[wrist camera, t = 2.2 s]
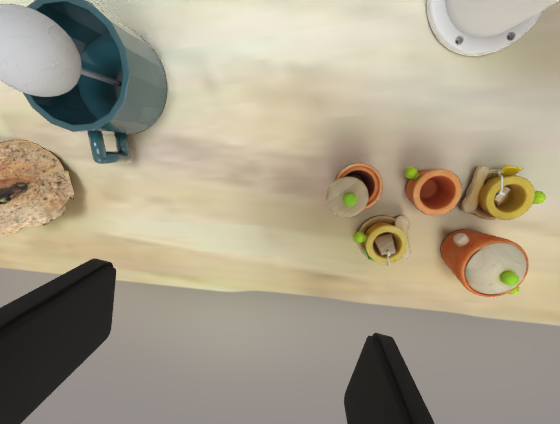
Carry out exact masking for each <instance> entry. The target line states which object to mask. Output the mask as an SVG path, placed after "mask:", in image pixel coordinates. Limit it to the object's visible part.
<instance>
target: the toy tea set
mask: <svg viewBox="0 0 560 424" xmlns="http://www.w3.org/2000/svg"><path fill="white" fill-rule="evenodd" d="M522 169H523V168H518V167H511V166H505V167H504V168H503V169H492V170H489V168H488V167H487V166H478V167H477V169H476V170H475V173H474V176H473V180H472V182H471V184H470V185H469V187H468V189H467V192H466V197H465V198H464V199H463V201H462V205H461V206H462V210H463V211H464V212H467V213H471V212H472V213H473V214H474V215H476V216H478V217H480V218H483V219H502V220H510V219H514V218H517V217H519V216H521V215H523V214H524V213H525V212H527V211H528V209H529V208H530V207H531V205H532V203H535V204H538V203H542V202H543V201H544V200H545V198H546V196H545V194H544V193H543V192H540V191H535V190H534V187H533V185H532V184H531V182H530V181H528V180H527V179H525V178H523V177H519V176H516V175H515V174H516V173H518V172H519V171H521V170H522ZM404 174H405V176H406V177H407V178H408V179H410V180H409V181H408V183H407V186H406V193H407V196H408V198H409V200H410V201H411V202H412V203H413V204H414V205H415V206H416V207H417V208H418V209H419V210H420V211H421V212H423V213H425V214H428V215H440V214H444V213H446V212H448V211H450V210H452V209H453V208H454V206H455V205H456V204H457V203H458V201H459V200H460V197H461V194H462V185H461V182H460V180H459V178H458V177H457V176H456V175H455V174H454V173H452V172H451V171H448V170H444V169H435V170H428V171H421V172H419V173H418V170H417V169H416V168H415V167H408V168H407V169H406V170H405V172H404ZM382 190H383V182H382V178H381V176H380V174H379V172H378V171H377V170H376V169H375V168H374V167H372V166H370V165H368V164H364V163H355V164H352V165H349V166H347V167H345V168H343V169H342V170H341V171H340V172H339V173H338V174H337V176H336V179H335V181H334V182H333V183H332V184H331V186H330V187H329V189H328V191H327V196H326V199H327V204H328V207H329V208H330V210H331V211H332V212H333V213H334V214H336V215H338V216H341V217H353V216H355V215H357V214H359V213H360V212H361V211H362V210H364V209H367V208H369V207H371V206H372V205H374V204H375V203H376V202H377V201H378V199H379V198H380V196H381V193H382ZM408 228H409V220H408V219H407V217H405V216H398V217H397V218H396V219H395V218H393V217H389V216H376V217H373V218H371V219H369V220H367V221H366V222H365V223H364V224H363V225H362V226H361V228H360V230H359V231H357V232H355V233H354V235H353V239H354V241H355V242H357V243H358V246H359V248H360V250H361V251H362V253H363V254H364V255H365V256H367V257H368V259H370V260H373V261H376V262H378V263H383V264H386V265H389V264H390V263H393V262H395V261H397V260H399V259H400V258H403V259H408V258H409V257H410V247H409V243H408V238H407V231H408ZM441 255H442V258H443V260H444V261H445V263H446V264H447V265H448V267H449V268H450V269H451V270H452V272H453V273H454V274H455V275H456V277H457V278H458V279H459V281H460V282H461V283H462V284H463V286H464V287H465V288H466V289H468V290H469V291H470V292H472V293H474V294H477V295H480V296H485V297H495V296H500V295H504V294H506V293H509V294H516V293H517V292H518V291H519V287H518V286H519V285H520V284H521V282H522V281H523V280H524V278H525V276H526V274H527V271H528V258H527V255H526V253H525V252H524V250H523V249H522V248H521V247H520V246H519V245H518V244H516V243H514V242H512V241H510V240H507V239H504V238H500V237H496V236H492V235H488V234H484V233H481V232H477V231H473V230H459V231H456V232H453V233H452V234H450V235H449V236H448V237H447V238H446V239H445V240H444V242H443V244H442V246H441Z"/></svg>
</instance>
